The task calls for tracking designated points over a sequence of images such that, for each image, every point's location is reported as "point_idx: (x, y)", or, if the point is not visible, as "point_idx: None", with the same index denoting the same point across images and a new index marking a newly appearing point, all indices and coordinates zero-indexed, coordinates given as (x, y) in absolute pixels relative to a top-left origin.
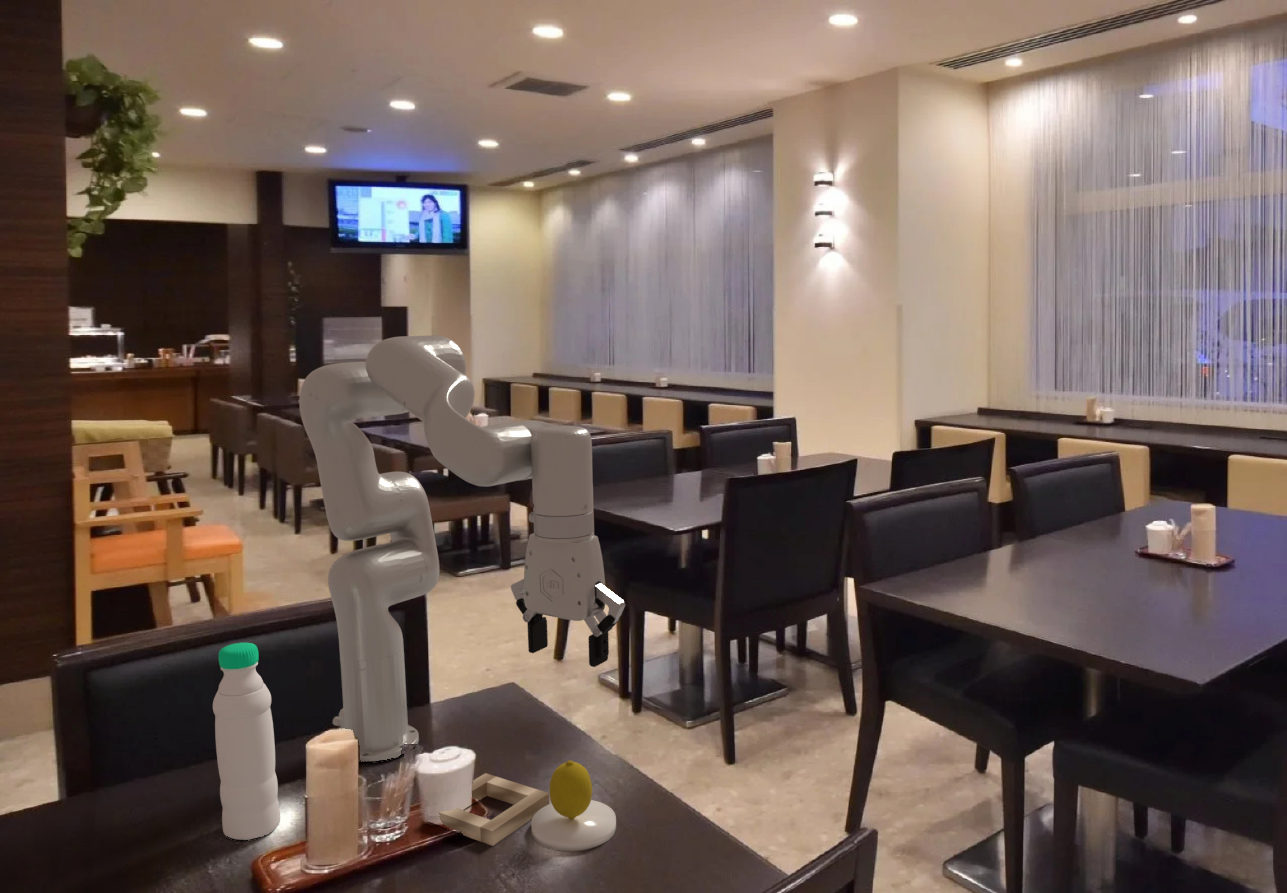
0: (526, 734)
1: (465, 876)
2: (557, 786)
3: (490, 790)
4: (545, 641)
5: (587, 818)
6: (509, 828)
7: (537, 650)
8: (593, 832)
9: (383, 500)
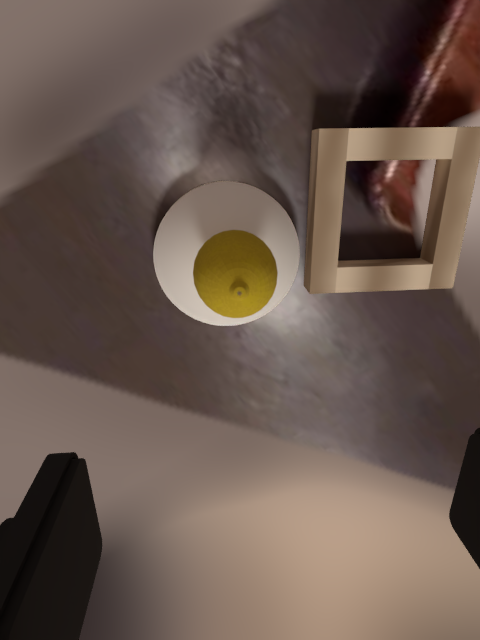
0: (469, 434)
1: (291, 13)
2: (239, 240)
3: (417, 261)
4: (469, 534)
5: None
6: (312, 180)
7: (466, 459)
8: (171, 243)
9: None
